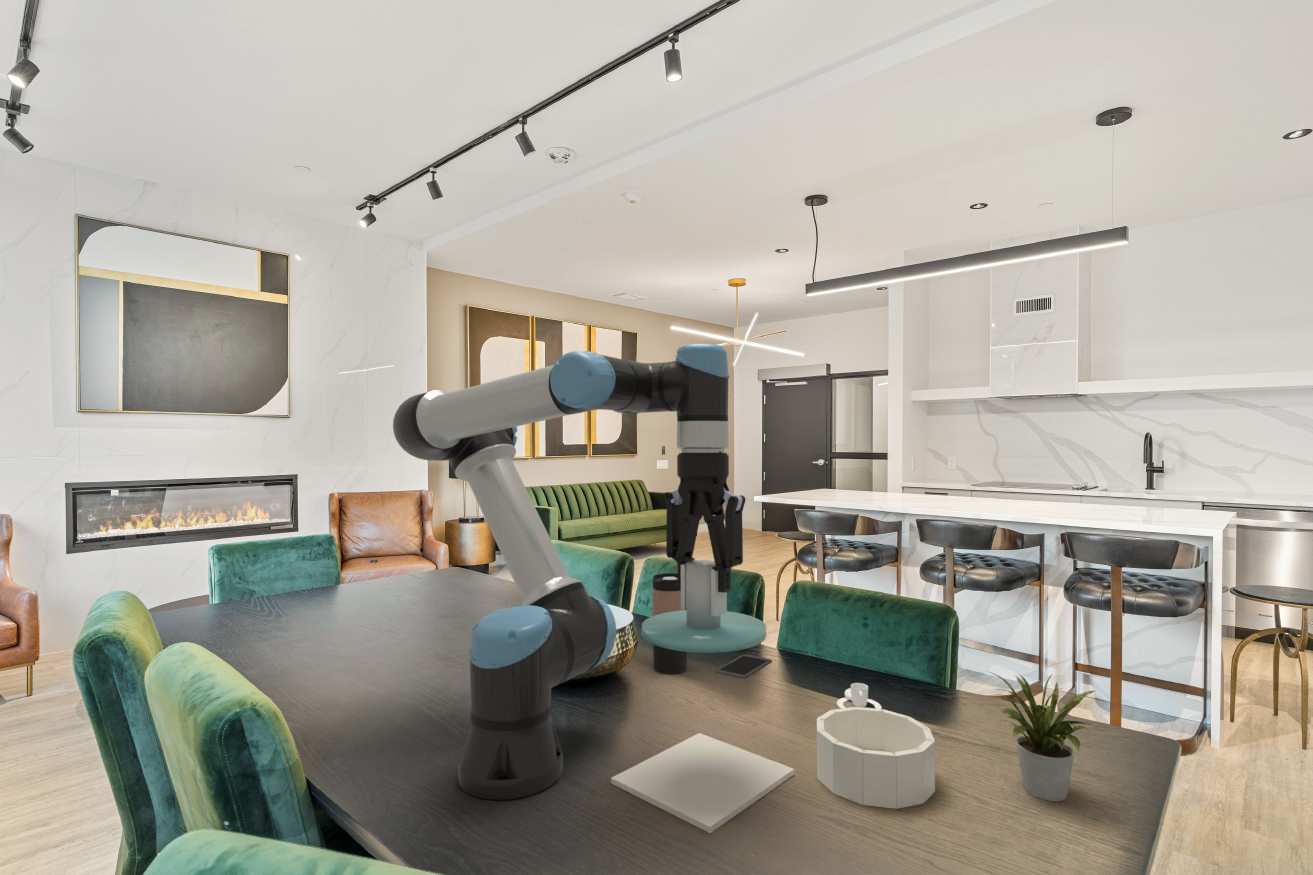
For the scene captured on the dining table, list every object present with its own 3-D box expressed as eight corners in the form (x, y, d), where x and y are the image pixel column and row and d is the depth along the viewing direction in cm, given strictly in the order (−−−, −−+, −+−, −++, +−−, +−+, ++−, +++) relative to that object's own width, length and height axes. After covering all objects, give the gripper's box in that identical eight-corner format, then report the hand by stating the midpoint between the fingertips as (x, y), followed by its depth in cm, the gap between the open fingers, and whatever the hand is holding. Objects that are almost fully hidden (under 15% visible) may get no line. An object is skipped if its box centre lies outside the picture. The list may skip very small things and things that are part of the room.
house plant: (962, 788, 93) (961, 672, 93) (996, 755, 103) (995, 650, 103) (1079, 830, 83) (1078, 699, 83) (1105, 789, 93) (1104, 672, 93)
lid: (714, 661, 83) (714, 580, 84) (616, 634, 96) (615, 563, 96) (790, 631, 97) (789, 562, 97) (695, 611, 109) (694, 549, 109)
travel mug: (688, 663, 147) (688, 573, 147) (687, 675, 139) (686, 580, 139) (654, 662, 147) (654, 572, 148) (650, 674, 140) (650, 579, 140)
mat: (710, 833, 83) (710, 826, 83) (611, 783, 95) (611, 777, 95) (794, 774, 97) (794, 768, 97) (699, 737, 109) (699, 732, 109)
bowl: (905, 821, 85) (905, 766, 85) (796, 779, 96) (796, 730, 96) (950, 775, 97) (949, 727, 97) (848, 742, 107) (848, 699, 108)
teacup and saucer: (844, 695, 129) (844, 674, 129) (886, 703, 125) (886, 681, 125) (831, 710, 121) (831, 688, 122) (876, 719, 117) (875, 696, 117)
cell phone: (773, 662, 148) (773, 659, 148) (744, 680, 137) (744, 677, 137) (744, 656, 152) (744, 653, 152) (713, 673, 141) (713, 670, 141)
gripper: (769, 451, 93) (770, 616, 93) (673, 450, 105) (674, 597, 105) (737, 451, 88) (738, 627, 87) (640, 451, 100) (641, 605, 100)
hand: (703, 610), depth 96 cm, fingers closed on lid, 5 cm apart
